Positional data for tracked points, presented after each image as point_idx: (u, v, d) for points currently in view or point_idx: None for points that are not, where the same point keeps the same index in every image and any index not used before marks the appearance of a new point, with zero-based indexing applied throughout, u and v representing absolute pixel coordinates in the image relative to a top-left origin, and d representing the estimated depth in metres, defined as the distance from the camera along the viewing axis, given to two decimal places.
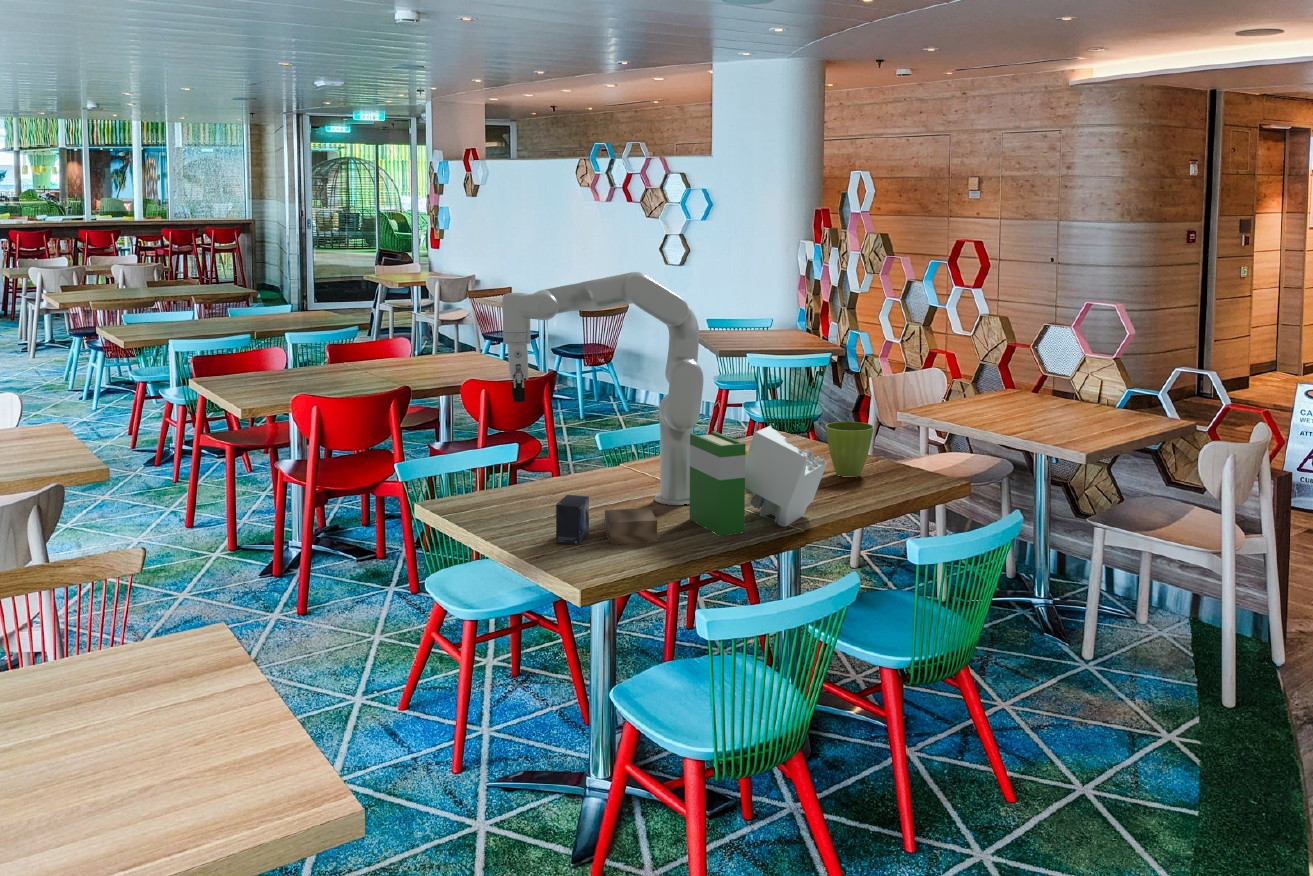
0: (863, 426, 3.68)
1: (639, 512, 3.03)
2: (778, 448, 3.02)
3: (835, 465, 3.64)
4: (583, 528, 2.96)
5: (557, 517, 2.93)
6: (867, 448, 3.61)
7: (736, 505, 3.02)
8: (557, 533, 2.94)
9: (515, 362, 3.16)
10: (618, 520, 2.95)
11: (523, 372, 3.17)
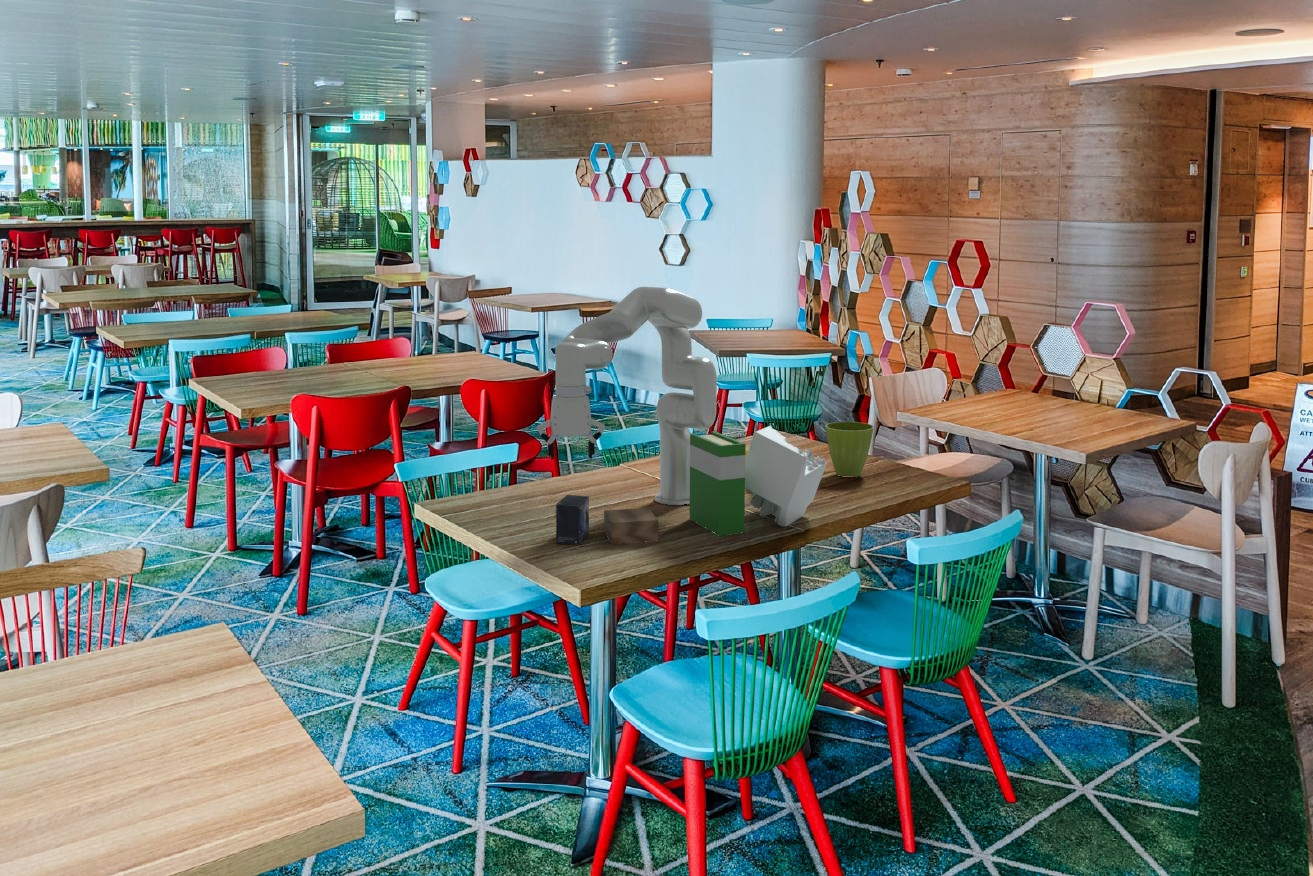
0: (863, 426, 3.68)
1: (638, 511, 3.03)
2: (778, 448, 3.02)
3: (835, 465, 3.64)
4: (583, 528, 2.96)
5: (557, 517, 2.93)
6: (867, 448, 3.61)
7: (736, 505, 3.02)
8: (557, 533, 2.94)
9: (590, 415, 2.92)
10: (619, 520, 2.95)
11: None
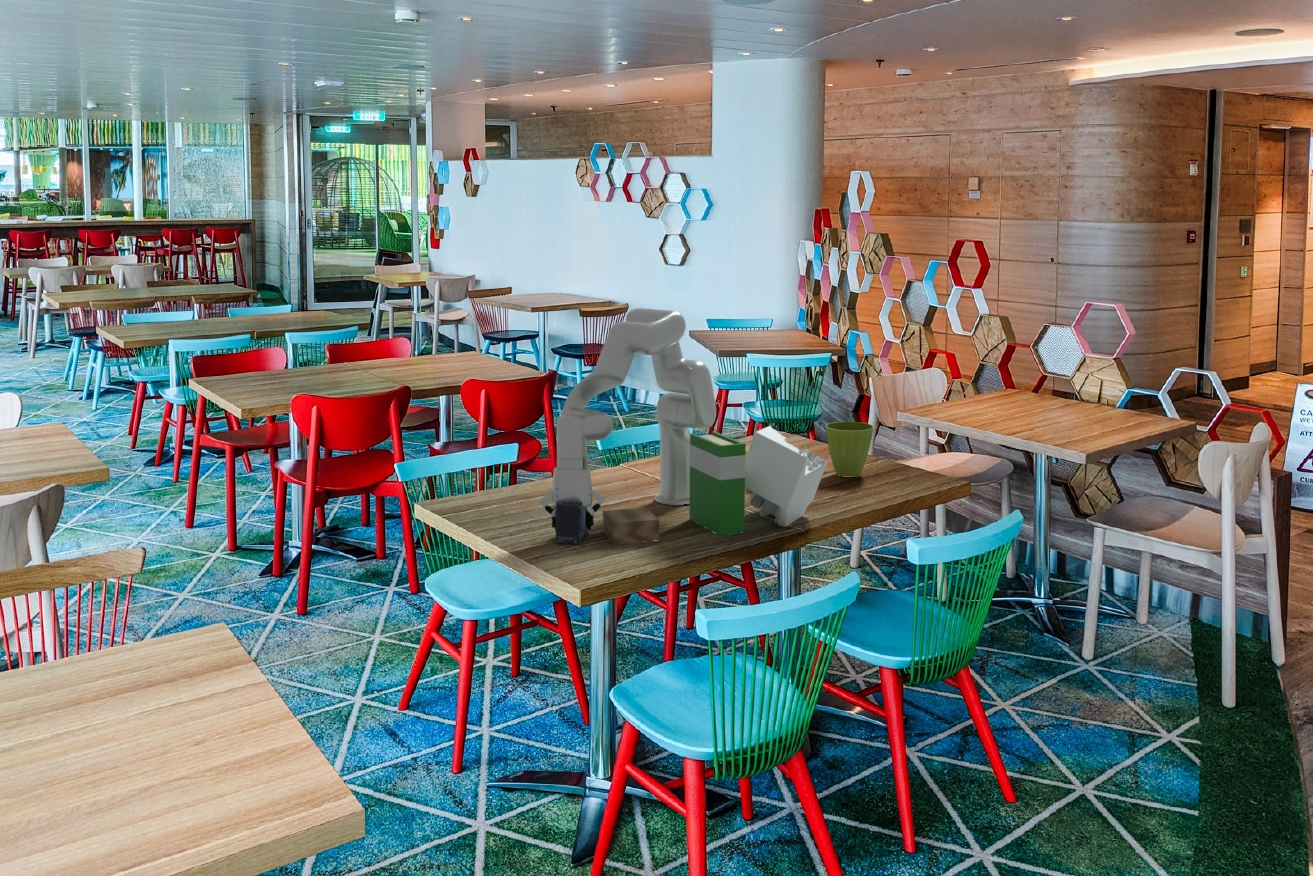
0: (863, 426, 3.68)
1: (637, 511, 3.03)
2: (778, 448, 3.02)
3: (835, 465, 3.64)
4: (583, 528, 2.96)
5: (557, 517, 2.93)
6: (867, 448, 3.61)
7: (736, 505, 3.02)
8: (557, 533, 2.94)
9: None
10: (620, 520, 2.95)
11: None
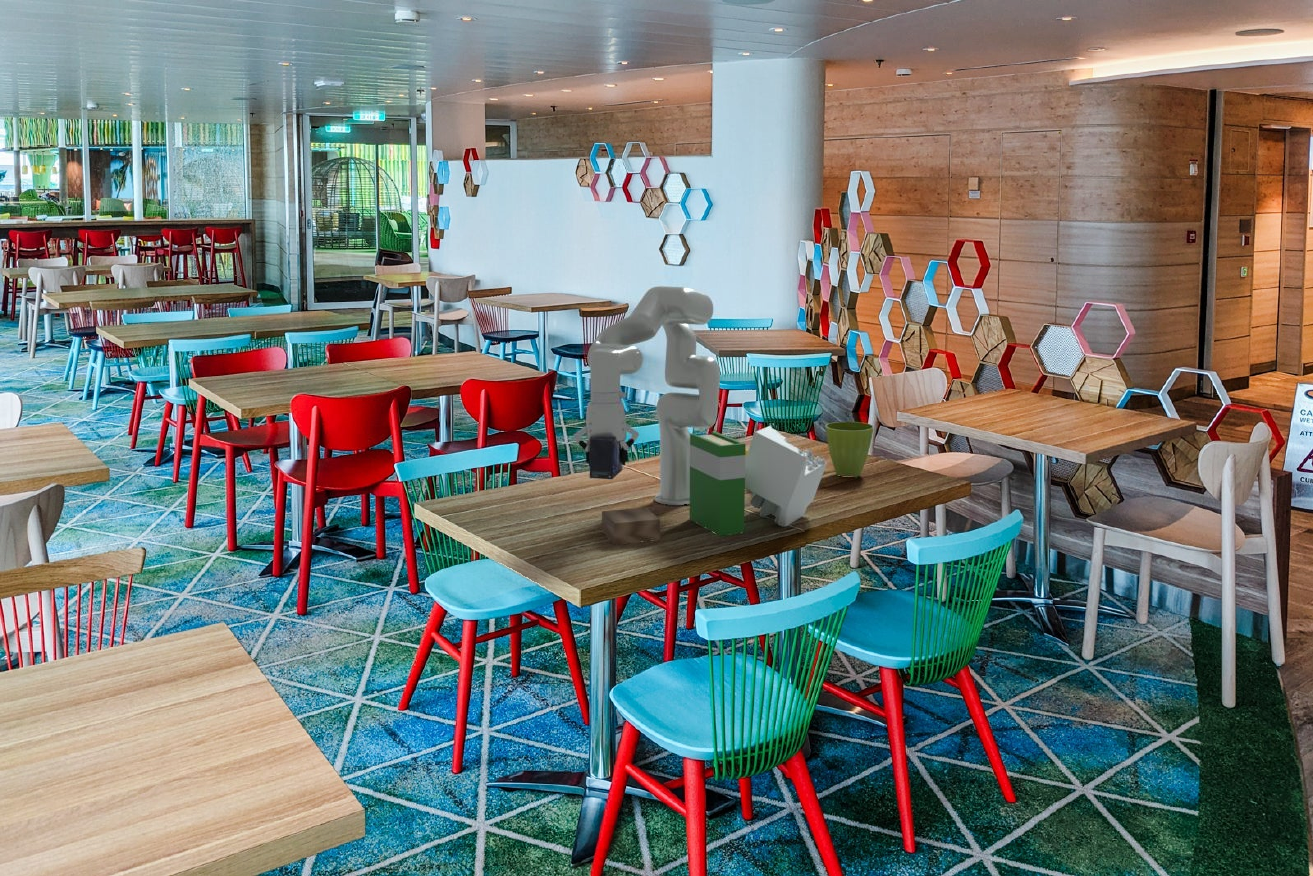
0: (863, 426, 3.68)
1: (637, 511, 3.03)
2: (778, 448, 3.02)
3: (835, 465, 3.64)
4: (617, 463, 2.94)
5: (591, 451, 2.91)
6: (867, 448, 3.61)
7: (736, 505, 3.02)
8: (591, 468, 2.92)
9: None
10: (621, 521, 2.94)
11: None
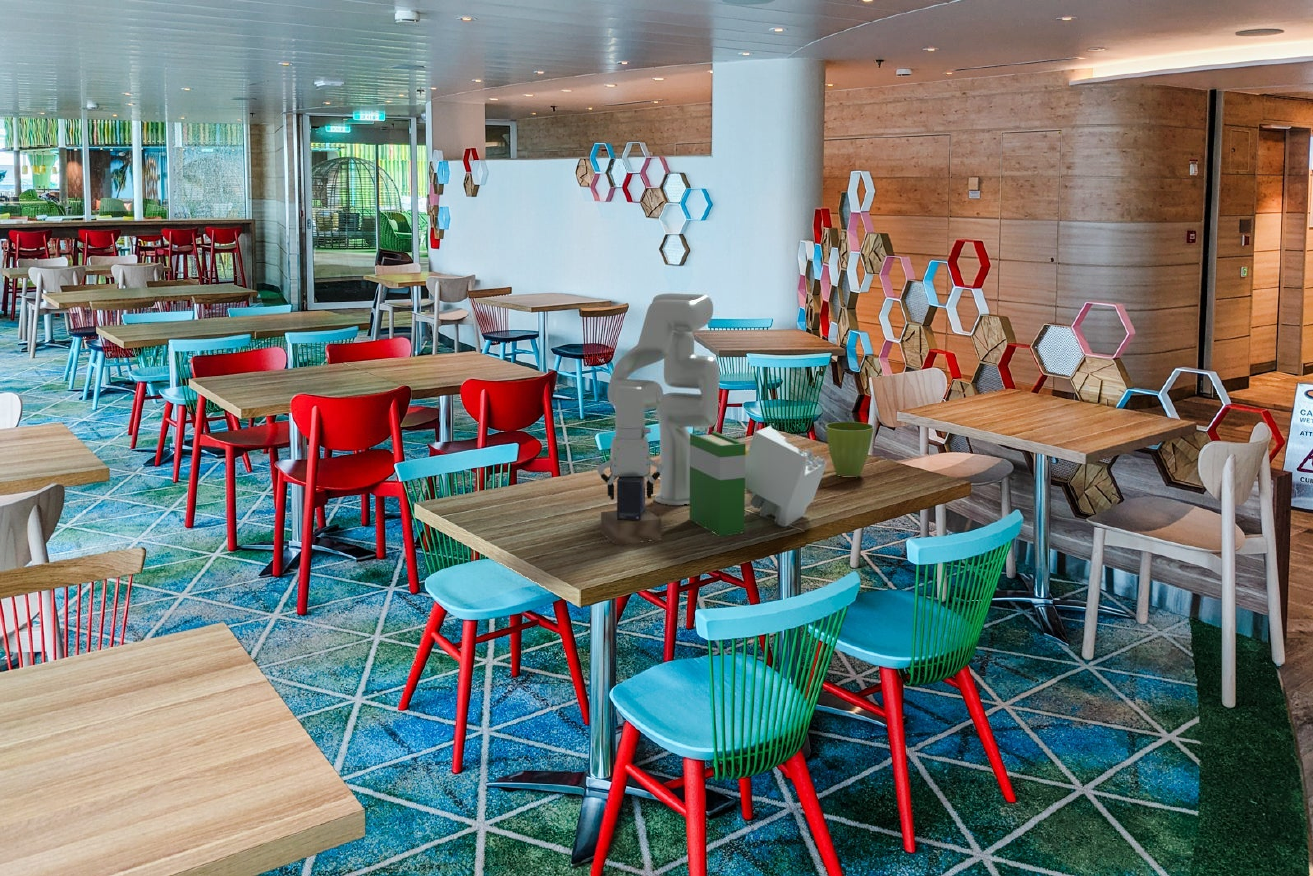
0: (863, 426, 3.68)
1: None
2: (778, 448, 3.02)
3: (835, 465, 3.64)
4: (642, 504, 2.98)
5: (618, 493, 2.94)
6: (867, 448, 3.61)
7: (736, 505, 3.02)
8: (618, 509, 2.95)
9: None
10: (623, 521, 2.94)
11: None
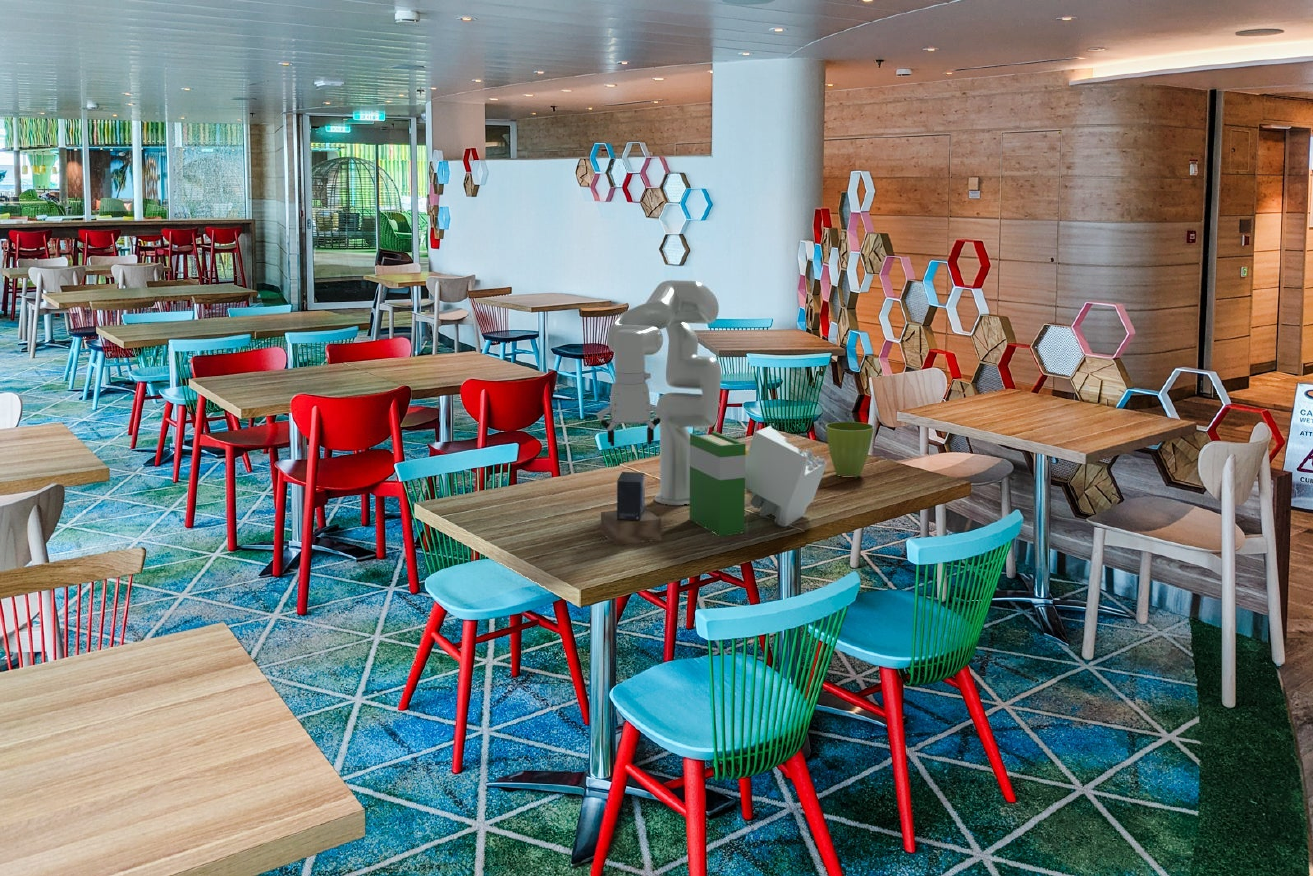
0: (863, 426, 3.69)
1: None
2: (778, 448, 3.02)
3: (835, 465, 3.64)
4: (642, 504, 2.98)
5: (618, 493, 2.94)
6: (867, 448, 3.61)
7: (736, 505, 3.02)
8: (618, 510, 2.94)
9: None
10: (623, 521, 2.94)
11: None
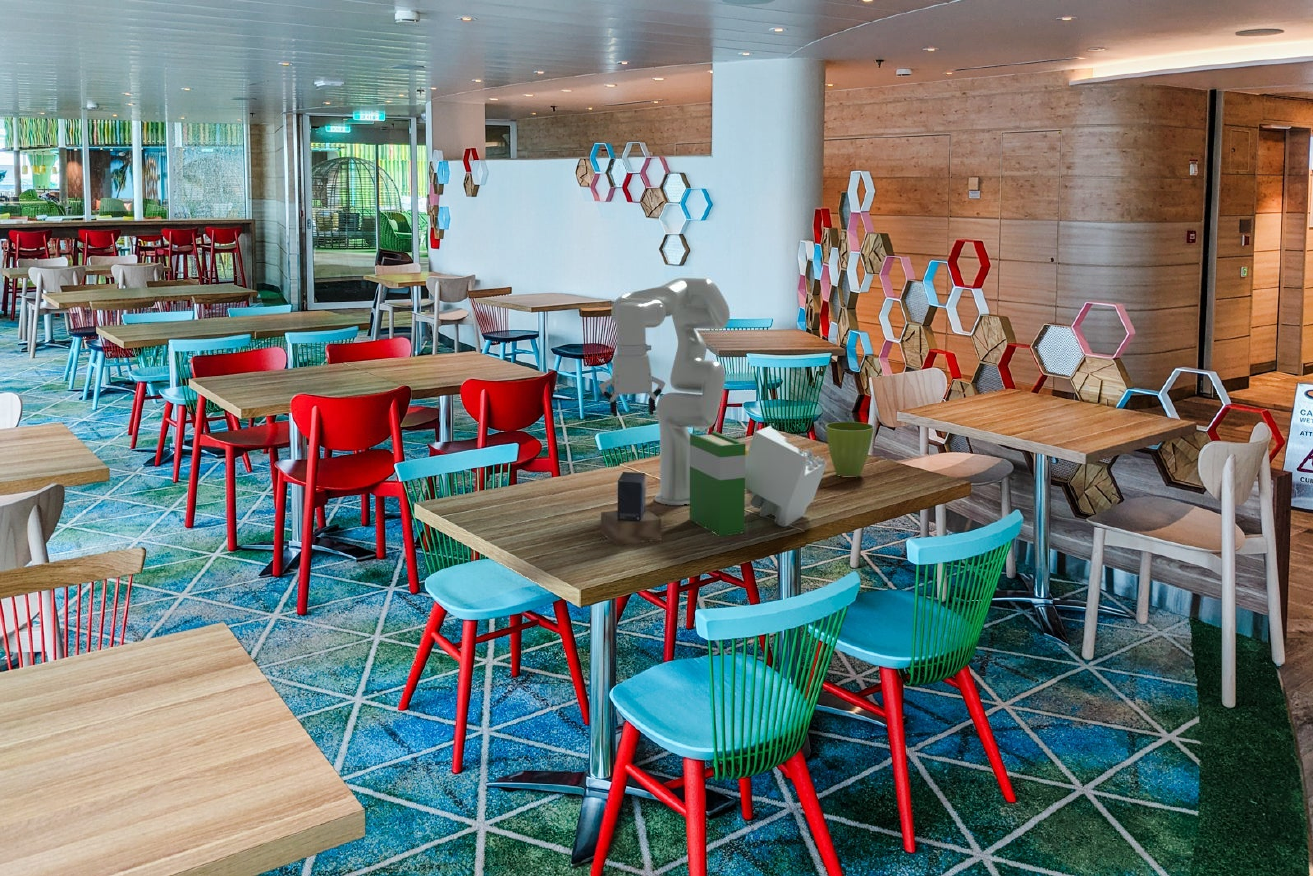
0: (863, 426, 3.69)
1: None
2: (778, 448, 3.02)
3: (835, 465, 3.64)
4: (643, 504, 2.98)
5: (619, 494, 2.94)
6: (867, 448, 3.61)
7: (736, 505, 3.02)
8: (619, 510, 2.95)
9: None
10: (623, 521, 2.94)
11: None
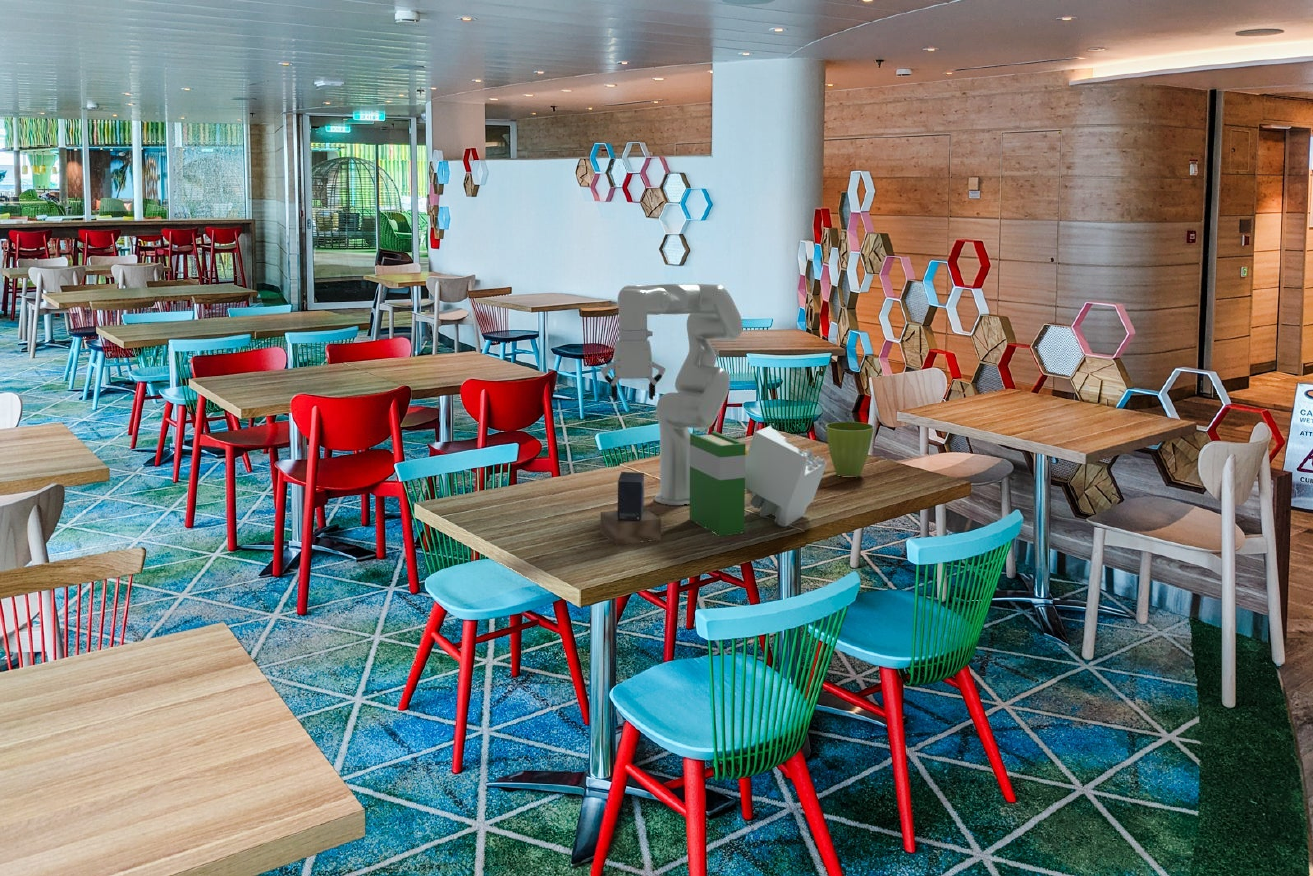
0: (863, 426, 3.68)
1: None
2: (778, 448, 3.02)
3: (835, 465, 3.64)
4: None
5: (619, 494, 2.93)
6: (867, 448, 3.61)
7: (736, 505, 3.02)
8: (619, 510, 2.94)
9: None
10: (623, 521, 2.94)
11: None
